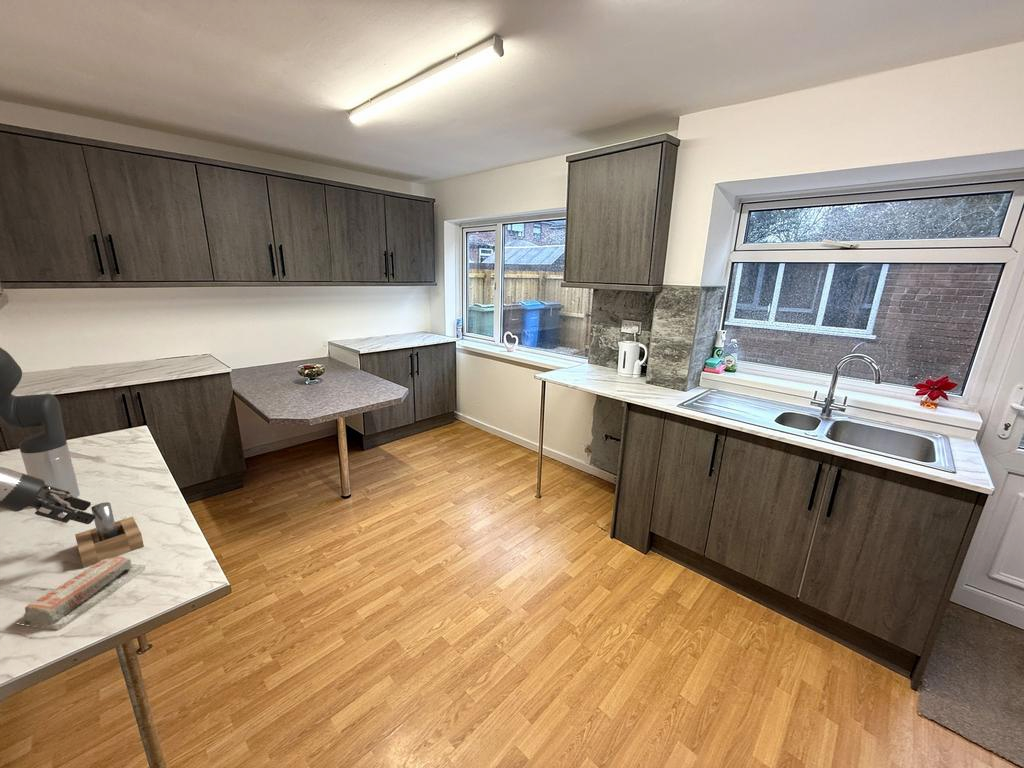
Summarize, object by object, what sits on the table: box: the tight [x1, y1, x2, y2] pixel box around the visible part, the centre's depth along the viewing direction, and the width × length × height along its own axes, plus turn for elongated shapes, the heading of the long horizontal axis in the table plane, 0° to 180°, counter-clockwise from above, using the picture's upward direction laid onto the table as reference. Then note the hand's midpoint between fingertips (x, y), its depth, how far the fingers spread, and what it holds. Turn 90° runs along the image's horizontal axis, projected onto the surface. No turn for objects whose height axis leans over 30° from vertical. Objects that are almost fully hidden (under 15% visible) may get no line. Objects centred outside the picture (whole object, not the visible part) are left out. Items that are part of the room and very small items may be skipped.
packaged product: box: [15, 555, 147, 631], centre depth 89 cm, size 18×5×10 cm
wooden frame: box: [74, 516, 145, 569], centre depth 105 cm, size 11×11×4 cm
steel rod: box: [91, 502, 118, 542], centre depth 104 cm, size 3×3×12 cm
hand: (90, 513), depth 101 cm, fingers open, 8 cm apart
